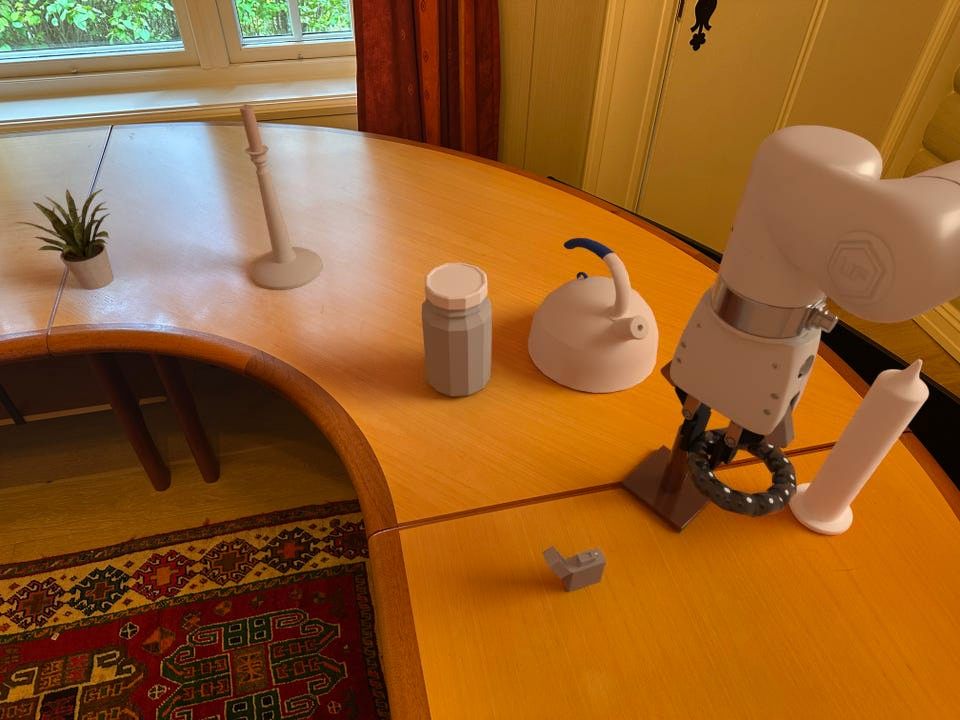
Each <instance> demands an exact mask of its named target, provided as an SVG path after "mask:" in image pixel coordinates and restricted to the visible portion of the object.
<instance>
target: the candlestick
mask: <svg viewBox="0 0 960 720" xmlns="http://www.w3.org/2000/svg"><path fill="white" fill-rule="evenodd" d="M239 112H240V116H241V119H242V123H243V127H244V130H245V135H246V138H247V142H248V147H247V148H245V150H244V152H245V153H246V154H247V155H249V156H250V161H251V163H253V164H254V166H255V167H256V171H255V175H256V177H257V183H258V187H259V192H260V197H261V203H262V207H263V211H264V212H263V213H264V216H265V221H266V225H267V230H268V231H267V232H268V236H269V240H270V246H271V250H270V251H268V252H266V253H264V254H263V255H261V256H259V258H258V259H257V260H255V262H254V263H253V264H252V265H251V268H250V275H251V279H252V281H253V282H254V283H255V284H256V285H257V286H259V287H262V288H264V289H267V290H274V291H275V290H276V291H285V290H291V289H297V288H299V287H302V286H305V285H307V284H310V283H311V282H313V281H314V280H315V279H316V278H317V277H319V276H320V274H321V272H322V270H323V269H324V268H323V266H324V264H323V259H322V257H321V256H320V255H319V254H318V253H316V252H315V251H313V250H311V249H308V248H305V247H300V246H293V245H292V243H291V239H290V236H289V233H288V230H287V226H286V223H285V220H284V217H283V213H282V210H281V206H280V204H279V200H278V197H277V194H276V191H275V187H274V184H273V180H272V177H271V174H270V169H268V167H267V161H268V159H269V157H268V155H267V152H268V151H269V149H270V148H269V146H267V145H265V144H263V142H262V138H261V133H260V130H259V125H258V122H257V118H256V117H257V116H256V114H255V110H254V106H253V105H252V104H244V105H240V106H239Z"/></svg>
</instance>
